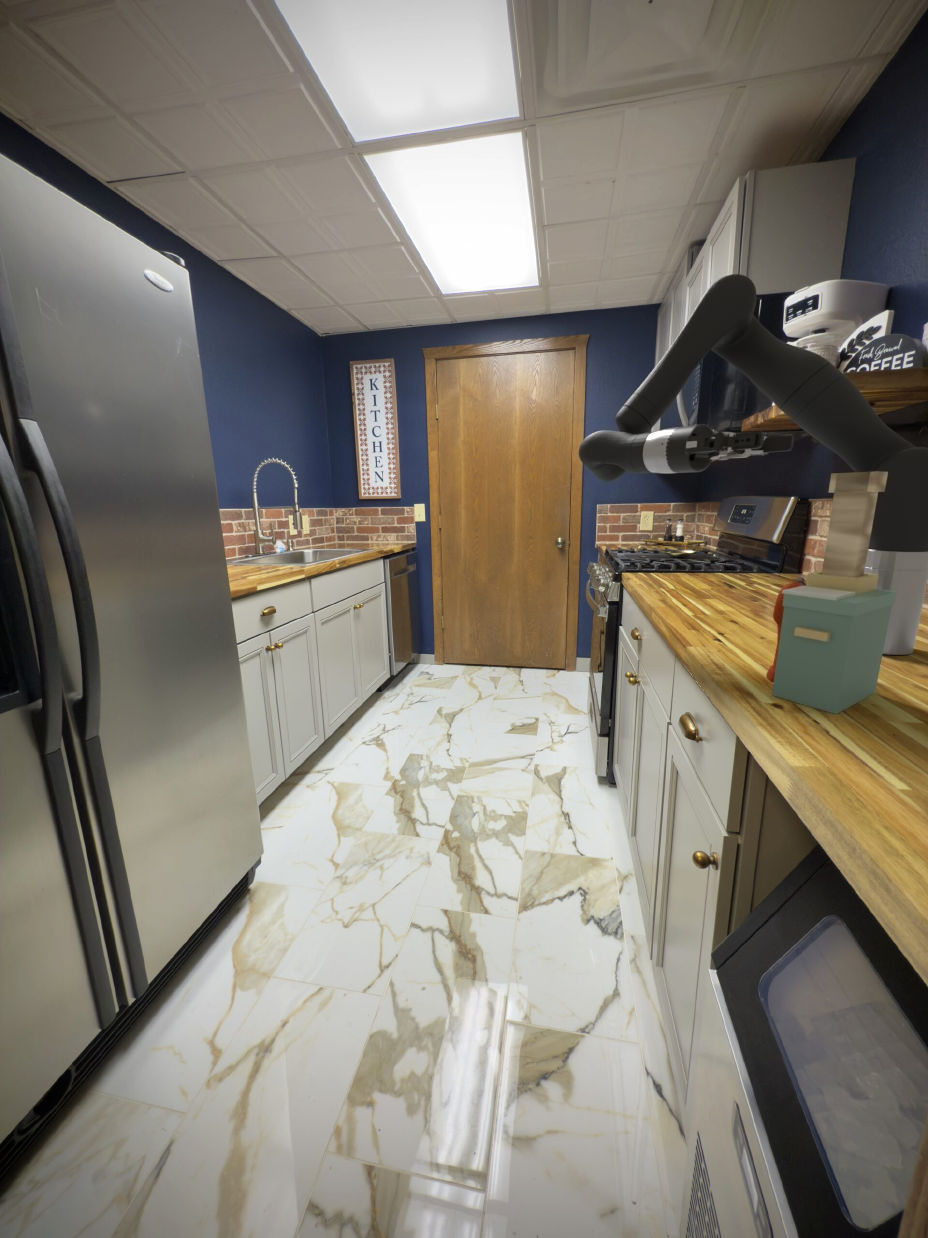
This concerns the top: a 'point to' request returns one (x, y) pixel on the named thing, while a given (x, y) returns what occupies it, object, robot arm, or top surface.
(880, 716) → the top surface
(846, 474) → the wooden key
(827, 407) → the robot arm
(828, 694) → the tool chest
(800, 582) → the toy drill
